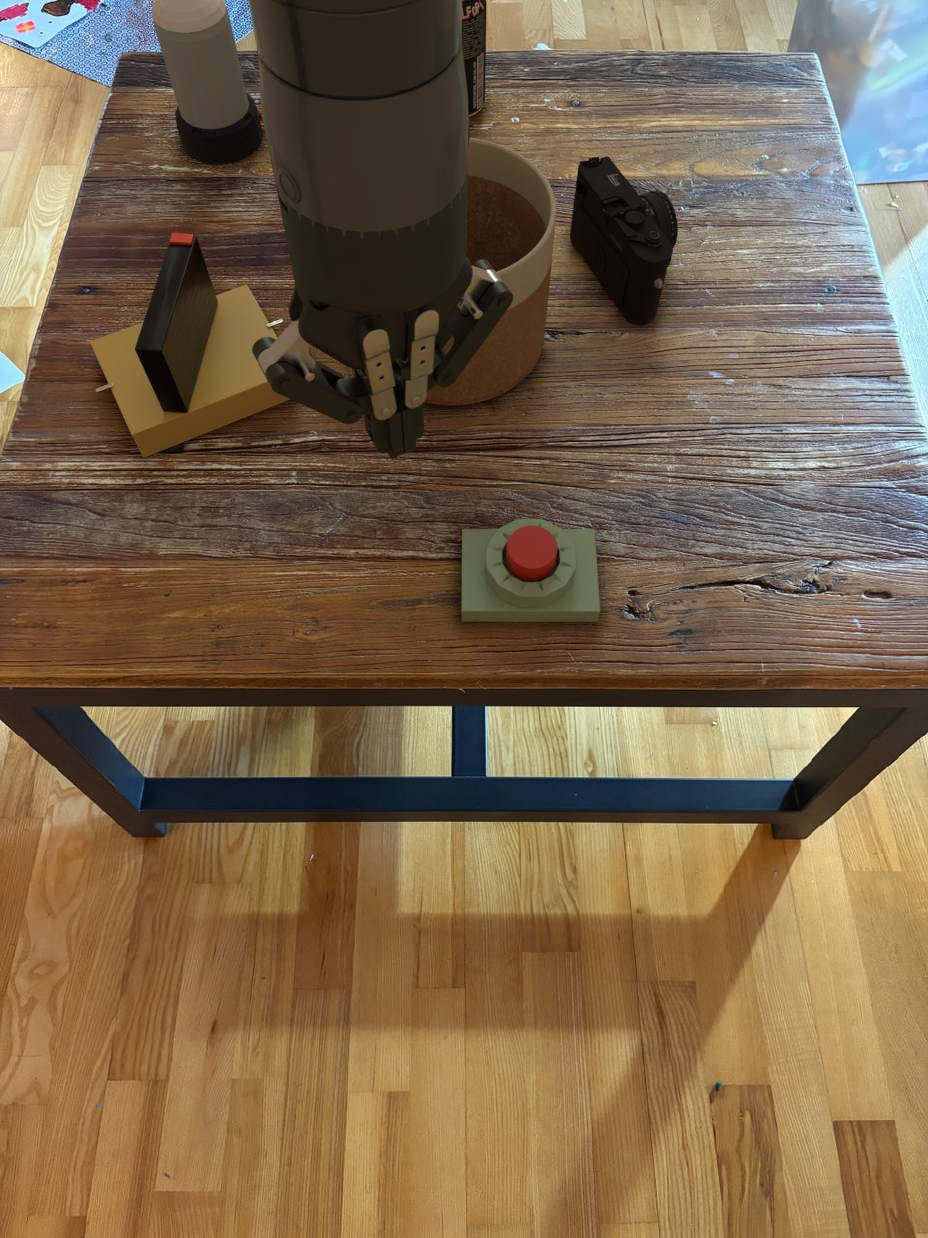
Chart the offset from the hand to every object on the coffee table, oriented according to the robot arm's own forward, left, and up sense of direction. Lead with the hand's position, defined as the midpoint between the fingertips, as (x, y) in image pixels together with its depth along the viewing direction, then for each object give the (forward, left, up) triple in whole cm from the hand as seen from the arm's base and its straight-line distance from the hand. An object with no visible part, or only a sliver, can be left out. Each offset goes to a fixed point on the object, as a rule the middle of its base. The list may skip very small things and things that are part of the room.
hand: (395, 443), depth 51 cm
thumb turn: (-6, +28, -17) cm, 33 cm away
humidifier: (+7, +57, -20) cm, 61 cm away
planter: (+15, +22, -20) cm, 33 cm away
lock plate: (-6, +28, -20) cm, 35 cm away
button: (+9, -2, -17) cm, 19 cm away
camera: (+33, +22, -20) cm, 44 cm away
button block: (+9, -2, -20) cm, 22 cm away
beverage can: (+30, +50, -20) cm, 62 cm away
